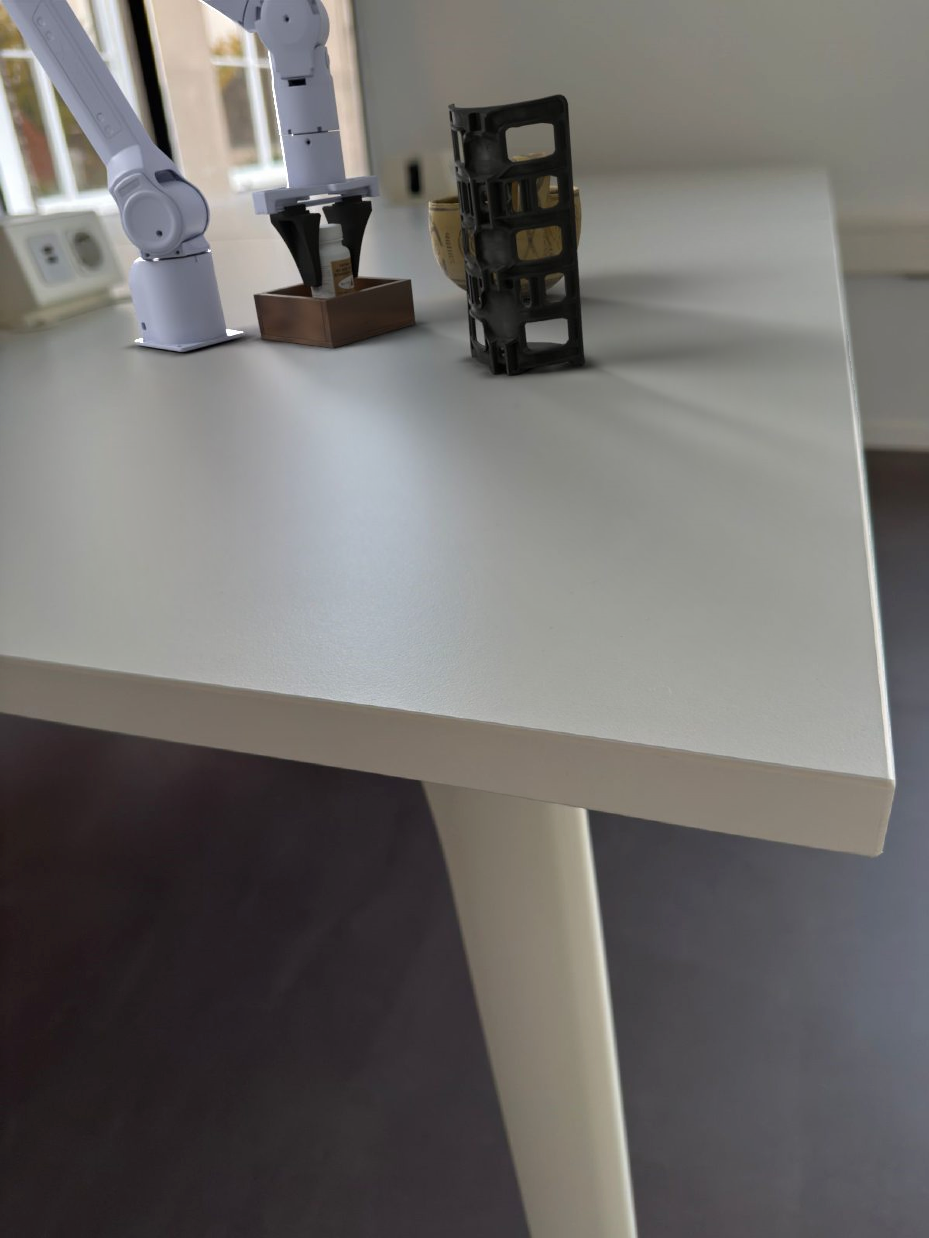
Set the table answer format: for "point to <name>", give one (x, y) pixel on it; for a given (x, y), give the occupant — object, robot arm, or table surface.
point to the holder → (500, 226)
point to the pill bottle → (333, 264)
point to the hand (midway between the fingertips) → (331, 281)
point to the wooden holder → (335, 312)
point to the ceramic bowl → (529, 242)
